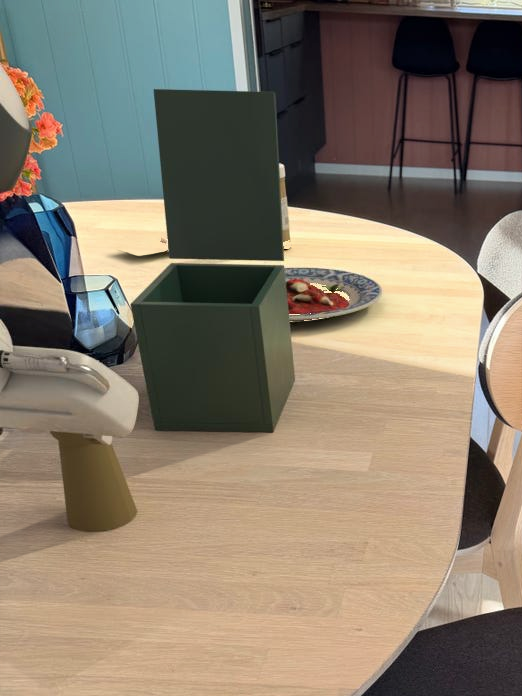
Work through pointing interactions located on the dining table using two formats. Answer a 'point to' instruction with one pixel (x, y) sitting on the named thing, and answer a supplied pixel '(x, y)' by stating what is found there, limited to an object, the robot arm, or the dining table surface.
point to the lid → (220, 174)
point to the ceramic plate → (327, 304)
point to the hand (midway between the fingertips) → (49, 431)
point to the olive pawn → (93, 484)
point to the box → (216, 346)
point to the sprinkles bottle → (284, 205)
